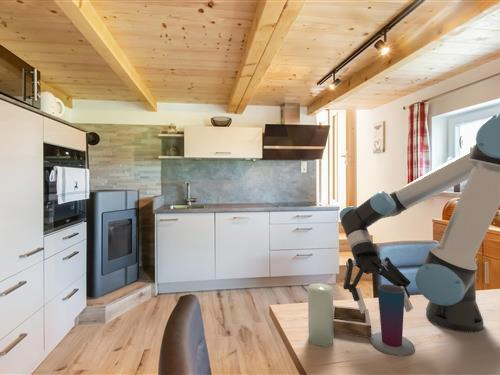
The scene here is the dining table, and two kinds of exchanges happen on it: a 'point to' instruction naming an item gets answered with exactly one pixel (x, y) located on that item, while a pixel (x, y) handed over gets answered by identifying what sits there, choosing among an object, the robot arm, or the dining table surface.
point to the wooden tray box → (350, 326)
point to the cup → (391, 313)
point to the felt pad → (403, 350)
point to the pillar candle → (320, 314)
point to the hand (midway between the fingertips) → (387, 311)
